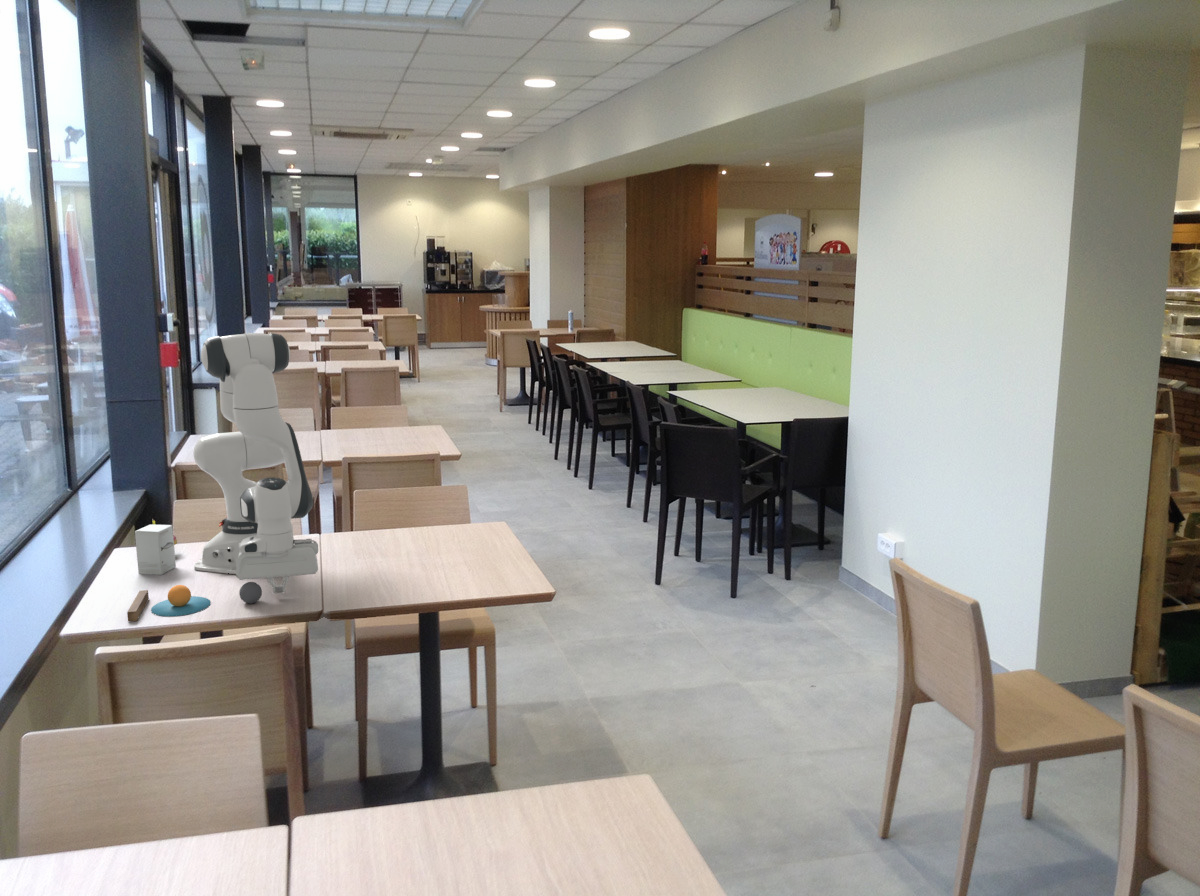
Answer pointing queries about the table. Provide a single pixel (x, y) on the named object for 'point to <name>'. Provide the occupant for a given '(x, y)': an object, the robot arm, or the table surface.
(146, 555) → the supplement box
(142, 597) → the wall
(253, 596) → the gray ball
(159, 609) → the teal mark
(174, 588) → the orange ball
